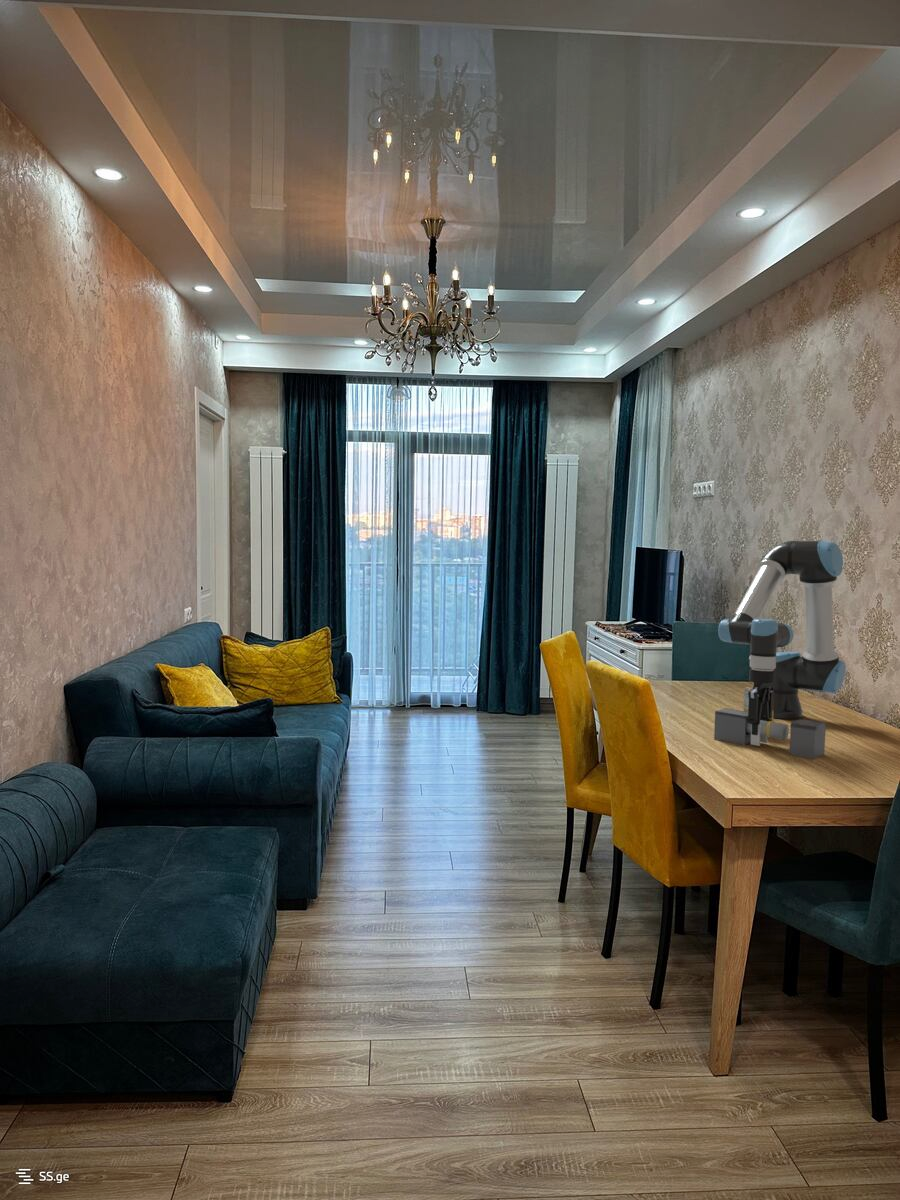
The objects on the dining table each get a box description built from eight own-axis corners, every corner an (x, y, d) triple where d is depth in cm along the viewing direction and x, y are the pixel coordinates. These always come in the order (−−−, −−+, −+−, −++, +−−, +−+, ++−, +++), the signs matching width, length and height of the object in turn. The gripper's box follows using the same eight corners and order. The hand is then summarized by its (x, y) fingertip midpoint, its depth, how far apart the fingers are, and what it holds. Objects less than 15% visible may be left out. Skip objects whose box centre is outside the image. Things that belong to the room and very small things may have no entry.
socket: (789, 754, 235) (790, 722, 234) (800, 749, 241) (801, 718, 240) (813, 759, 230) (815, 727, 229) (824, 754, 236) (825, 722, 235)
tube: (718, 730, 252) (719, 714, 252) (726, 727, 256) (726, 711, 255) (781, 742, 238) (782, 725, 238) (788, 739, 242) (789, 722, 241)
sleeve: (714, 739, 252) (715, 711, 252) (724, 735, 257) (725, 708, 257) (744, 745, 245) (745, 716, 245) (754, 741, 250) (755, 713, 250)
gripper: (762, 664, 253) (759, 736, 254) (737, 670, 240) (734, 746, 242) (786, 667, 248) (782, 741, 249) (762, 673, 235) (758, 750, 237)
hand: (758, 743), depth 246 cm, fingers closed on tube, 5 cm apart
